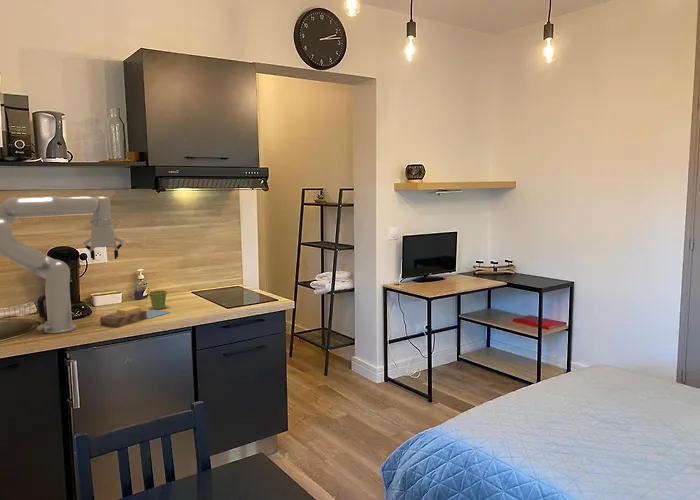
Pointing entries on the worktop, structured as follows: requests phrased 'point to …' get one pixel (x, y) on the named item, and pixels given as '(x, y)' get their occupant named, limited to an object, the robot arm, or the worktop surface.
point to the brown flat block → (122, 319)
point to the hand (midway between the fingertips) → (104, 259)
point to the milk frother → (41, 305)
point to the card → (128, 310)
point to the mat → (155, 313)
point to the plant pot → (158, 299)
